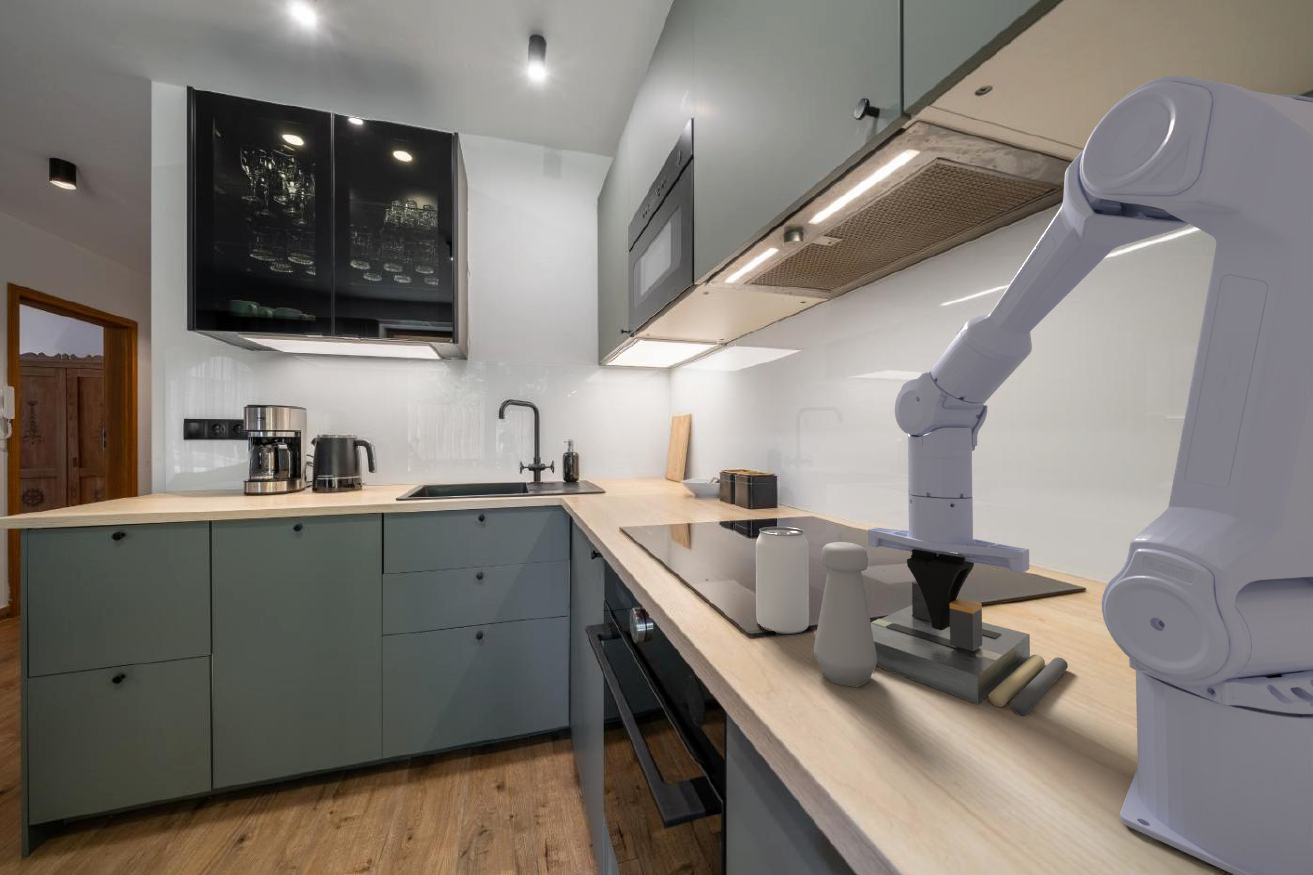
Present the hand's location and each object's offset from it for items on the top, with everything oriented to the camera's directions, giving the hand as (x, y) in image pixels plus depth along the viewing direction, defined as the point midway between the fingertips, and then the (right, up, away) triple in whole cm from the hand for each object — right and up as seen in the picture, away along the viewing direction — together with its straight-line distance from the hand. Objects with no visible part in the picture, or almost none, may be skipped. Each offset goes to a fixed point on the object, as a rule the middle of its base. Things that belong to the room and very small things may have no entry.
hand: (940, 627), depth 48 cm
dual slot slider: (+1, -4, +2) cm, 4 cm away
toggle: (+1, -1, -2) cm, 3 cm away
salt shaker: (-11, -4, -2) cm, 12 cm away
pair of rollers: (+6, -4, -4) cm, 8 cm away
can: (-13, -4, +11) cm, 18 cm away
